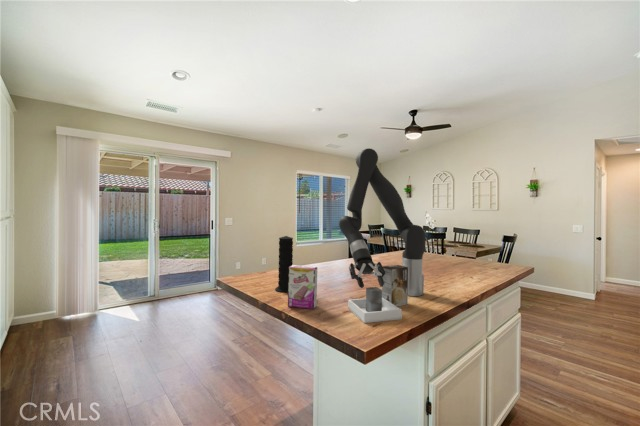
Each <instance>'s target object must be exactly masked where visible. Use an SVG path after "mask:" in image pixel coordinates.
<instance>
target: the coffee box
mask: <svg viewBox="0 0 640 426" xmlns="http://www.w3.org/2000/svg"><path fill="white" fill-rule="evenodd" d="M382 267H383V269H384V271H385V275H384V276H383V277H382V278H383V280H384V285H383V286H382V287H381V290H382V298H384V299H385V300H387V301H389V302H390V303H392V304H393V305H395V306H396V307H400V306H406V305H408V300H409V298H408V267H405V266H402V264H401V265H400V264H391V265H382Z"/></svg>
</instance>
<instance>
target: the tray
mask: <svg viewBox="0 0 640 426" xmlns="http://www.w3.org/2000/svg"><path fill="white" fill-rule="evenodd" d="M347 302H348V303H347V304H348V305H347V309H348V310H350V312H351V313H352V314H354V315H355V316H356V317H357V318H358V319H359V320H360V321H361V322H363V324H369V323H377V322H378V323H379V322H389V321H396V320H403V319H402V312H403V309H401V308H399V306H395V305H393V304H392V303H390V302H389V301H387V300H385V299H384V298H382V311H376V312H367V311H366V297H365V298H354V299H348V301H347Z"/></svg>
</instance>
